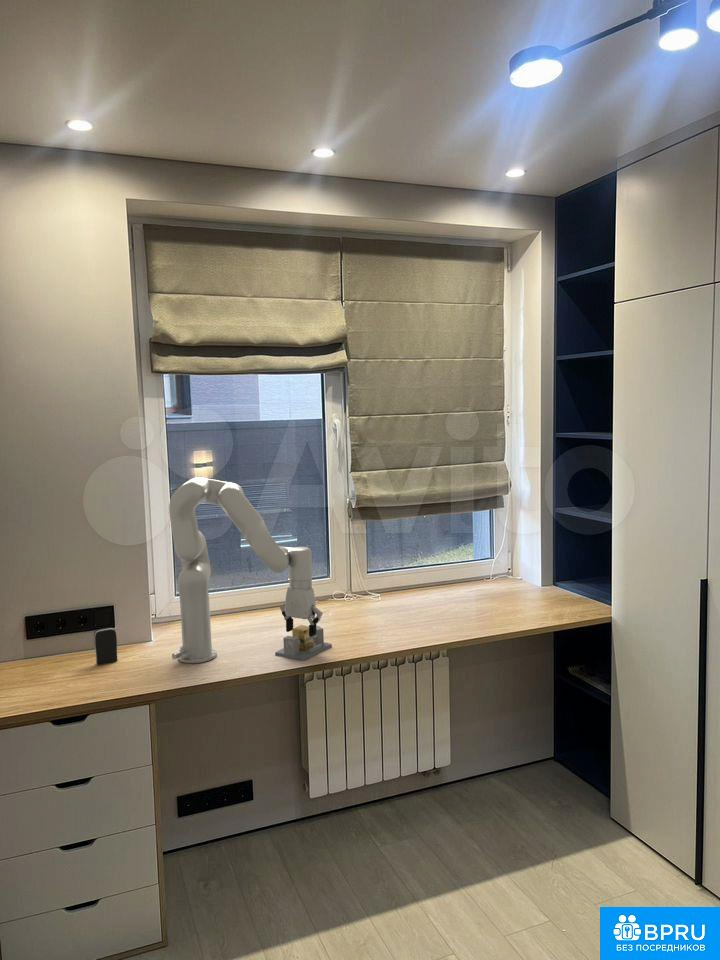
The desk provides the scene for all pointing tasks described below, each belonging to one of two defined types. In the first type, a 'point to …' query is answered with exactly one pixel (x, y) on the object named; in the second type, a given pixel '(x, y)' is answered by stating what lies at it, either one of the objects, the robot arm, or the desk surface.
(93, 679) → the desk surface
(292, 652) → the grey mounting bracket
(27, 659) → the desk surface
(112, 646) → the battery charger
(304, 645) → the yellow rectangular block
